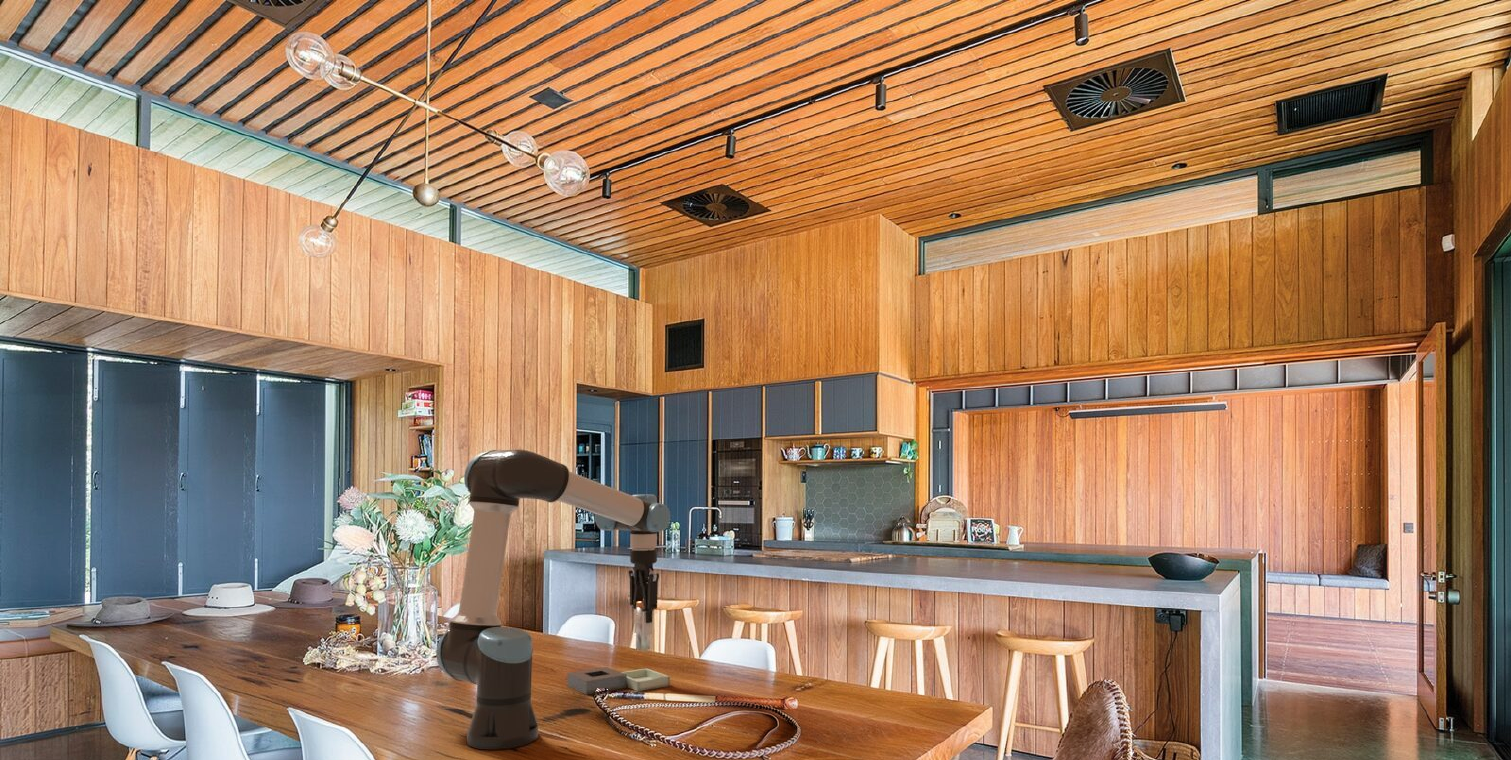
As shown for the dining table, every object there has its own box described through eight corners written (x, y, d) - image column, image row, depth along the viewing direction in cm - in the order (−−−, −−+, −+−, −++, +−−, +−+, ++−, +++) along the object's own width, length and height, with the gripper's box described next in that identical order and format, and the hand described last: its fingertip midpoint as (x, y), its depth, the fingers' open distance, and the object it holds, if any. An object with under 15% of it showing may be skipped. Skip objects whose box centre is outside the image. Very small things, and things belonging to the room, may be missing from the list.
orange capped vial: (640, 650, 235) (640, 602, 236) (633, 648, 238) (633, 601, 239) (652, 648, 237) (653, 601, 239) (645, 646, 240) (646, 599, 242)
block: (586, 694, 225) (586, 680, 226) (567, 685, 235) (567, 672, 235) (626, 687, 232) (626, 674, 233) (606, 679, 242) (606, 666, 242)
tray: (637, 691, 228) (638, 681, 228) (615, 682, 239) (615, 673, 239) (669, 685, 234) (669, 676, 234) (646, 677, 244) (646, 668, 245)
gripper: (670, 550, 236) (670, 636, 233) (640, 546, 250) (640, 627, 247) (646, 551, 232) (646, 639, 229) (617, 547, 245) (617, 630, 243)
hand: (643, 633), depth 238 cm, fingers closed on orange capped vial, 4 cm apart
